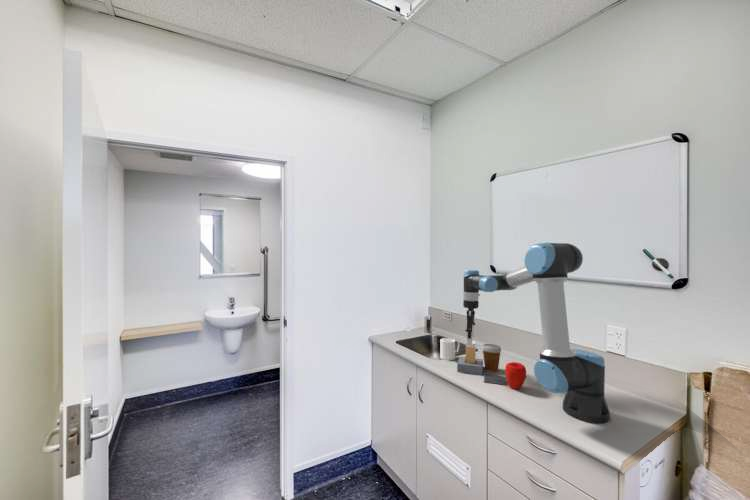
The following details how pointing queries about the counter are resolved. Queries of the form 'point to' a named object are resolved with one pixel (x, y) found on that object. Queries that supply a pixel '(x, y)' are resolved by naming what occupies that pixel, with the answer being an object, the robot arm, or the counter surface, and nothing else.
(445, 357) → the cup
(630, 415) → the counter surface
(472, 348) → the tall drinking glass
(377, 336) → the counter surface
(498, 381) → the pad
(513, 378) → the apple
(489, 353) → the disposable coffee cup
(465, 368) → the gray square block
